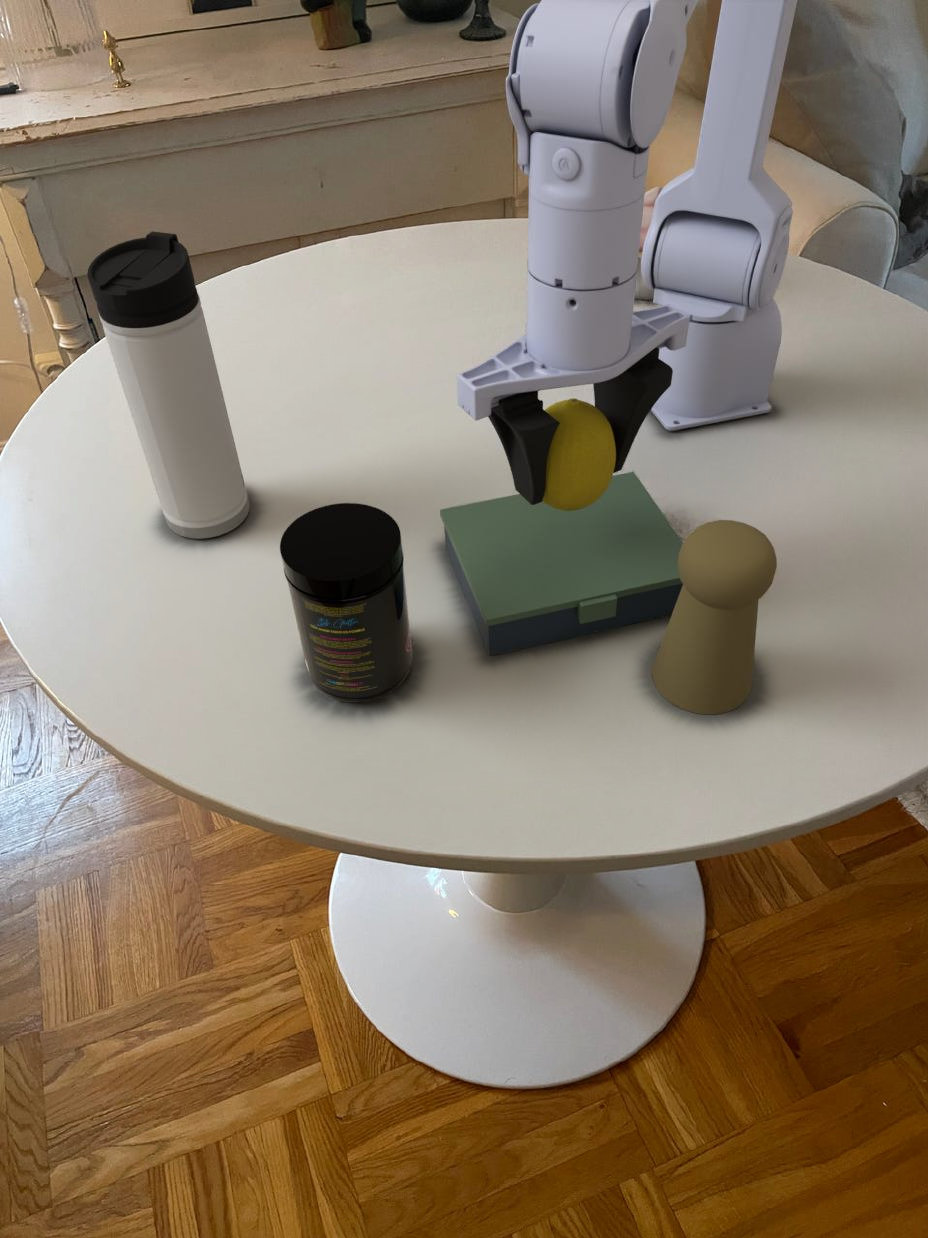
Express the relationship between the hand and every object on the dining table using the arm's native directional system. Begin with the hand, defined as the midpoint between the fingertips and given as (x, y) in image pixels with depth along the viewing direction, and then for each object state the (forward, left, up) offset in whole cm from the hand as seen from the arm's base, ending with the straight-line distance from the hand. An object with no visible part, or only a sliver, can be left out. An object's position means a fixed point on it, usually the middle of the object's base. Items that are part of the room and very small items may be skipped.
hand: (569, 479), depth 58 cm
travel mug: (+23, -15, -9) cm, 29 cm away
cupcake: (-23, -39, -9) cm, 46 cm away
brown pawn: (-5, +11, -9) cm, 15 cm away
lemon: (0, 0, -3) cm, 3 cm away
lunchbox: (0, 0, -8) cm, 8 cm away
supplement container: (+15, +4, -9) cm, 18 cm away
